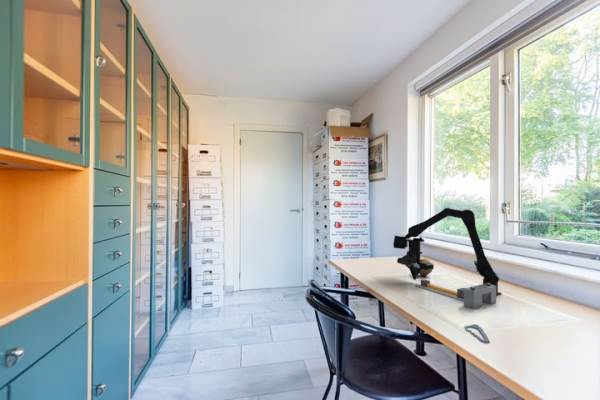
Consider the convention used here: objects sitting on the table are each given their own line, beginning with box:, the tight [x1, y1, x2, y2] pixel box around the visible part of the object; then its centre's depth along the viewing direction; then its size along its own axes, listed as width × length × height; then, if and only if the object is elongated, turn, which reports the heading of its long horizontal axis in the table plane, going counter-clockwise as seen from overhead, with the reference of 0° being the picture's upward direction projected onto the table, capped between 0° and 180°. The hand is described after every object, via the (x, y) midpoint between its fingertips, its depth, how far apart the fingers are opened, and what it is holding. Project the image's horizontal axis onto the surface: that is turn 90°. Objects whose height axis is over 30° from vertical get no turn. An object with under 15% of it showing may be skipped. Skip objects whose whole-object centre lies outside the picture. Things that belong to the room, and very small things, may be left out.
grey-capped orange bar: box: [420, 279, 465, 299], centre depth 129 cm, size 24×4×4 cm, turn 28°
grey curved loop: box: [464, 324, 490, 344], centre depth 88 cm, size 12×1×5 cm
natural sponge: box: [418, 258, 434, 277], centre depth 157 cm, size 9×9×10 cm
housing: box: [414, 283, 497, 310], centre depth 126 cm, size 16×32×8 cm, turn 28°
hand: (414, 279), depth 144 cm, fingers closed
